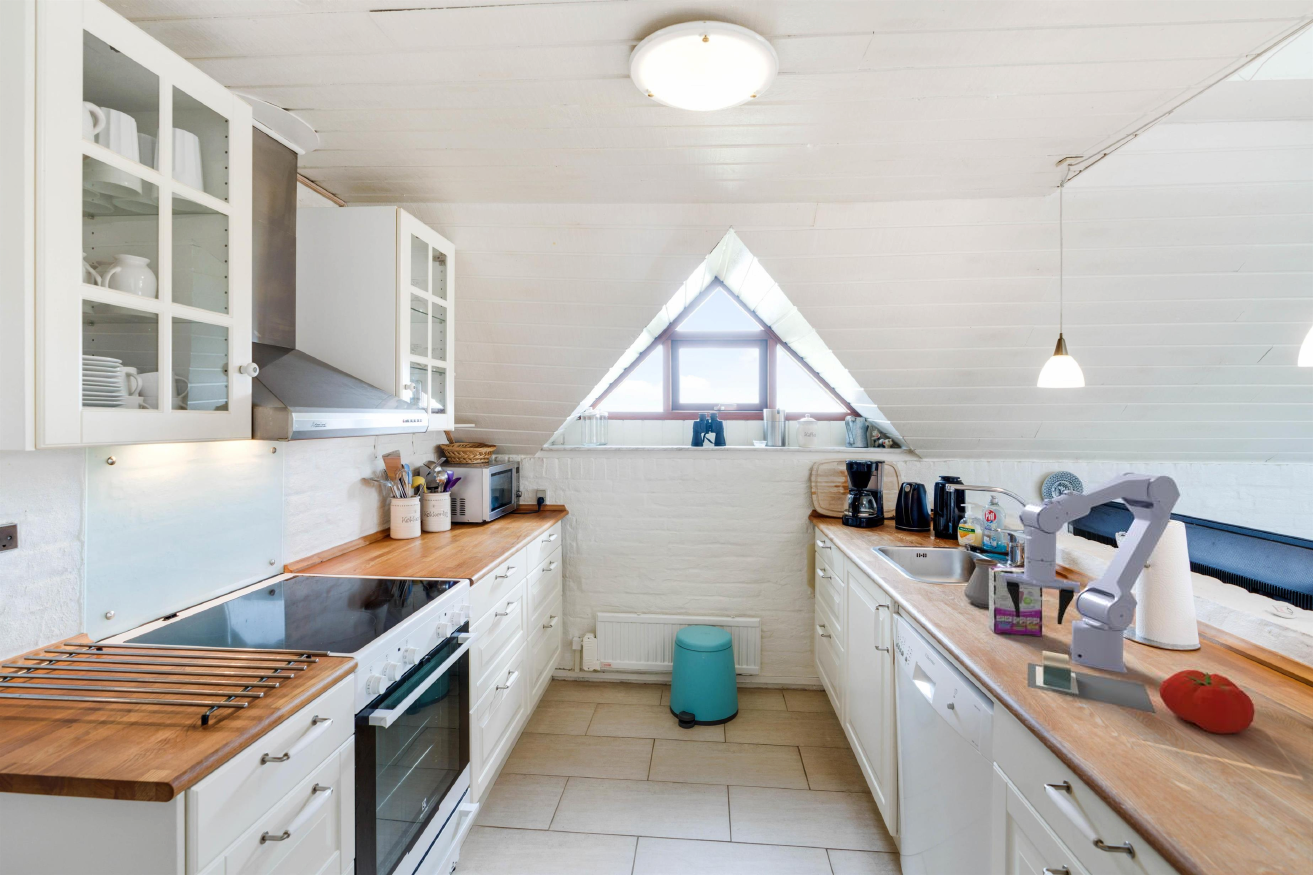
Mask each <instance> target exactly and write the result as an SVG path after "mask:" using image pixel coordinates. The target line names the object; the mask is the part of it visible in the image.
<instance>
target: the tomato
mask: <svg viewBox="0 0 1313 875" xmlns="http://www.w3.org/2000/svg"><path fill="white" fill-rule="evenodd" d="M1158 691H1159V698H1160V699H1161V701H1162V703H1163V704H1164V705H1165V706H1166V708H1167V709H1169V710H1170V712H1172V714H1175V715H1176V716H1177V717H1179V718H1180V719H1182V720H1184V721H1186V722H1187V723H1191V724H1196V725H1197V726H1199V727H1200V728H1201V729H1202V730H1204V731H1207V732H1209V733H1214V734H1220V735H1222V734H1229V733H1231V734H1232V733H1233V734H1235V733H1240V732H1242V731H1244V730H1246V729H1247V728H1249V727H1250V726H1251V724H1252V723H1253V721H1254V717H1255V712H1256V711H1255V705H1254V702H1253V701H1252V700H1251V697H1250V696H1249V695H1248V694H1247V693H1246V692H1245V691H1244V690H1242V689H1241V688H1240V687H1239V686H1237V684H1235V683H1234V682H1233V681H1231V680H1230V679H1229V678H1227V677H1226V676H1223V675H1220V674H1218V673H1211V674H1209V673H1208V671H1207V672H1203V671H1200V670H1195V669H1185V670H1181V671H1179V672H1176V673H1174V674H1172V675H1171V676H1169V677H1168V678H1166V679H1165V680H1163V681H1162V683H1161V685H1160V688H1159V690H1158Z"/></svg>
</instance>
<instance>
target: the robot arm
mask: <svg viewBox="0 0 1313 875" xmlns="http://www.w3.org/2000/svg"><path fill="white" fill-rule="evenodd" d="M1179 490H1180V489H1179V488H1178V486H1177V483H1176V482H1175V480H1174V479H1173V478H1172V477H1170V476H1167V475H1153V474H1152V475H1151V474H1143V473H1134V472H1131V471H1130V472H1129V471H1128V472H1124V473H1122V474H1117V475H1114V476H1113V478H1112V479H1110V480H1108V481H1105V482H1103V483H1101V484H1098V485H1097V486H1095V487H1092V488H1090V489H1089V490H1086V491H1084V492H1082V493H1081V492H1079V491H1076V490H1070V489H1069V490H1068V489H1067V490H1064V491H1062V494H1061V495H1059V496H1055V497H1054V498H1046V499H1043V501H1042V502H1041V503H1035V502H1031V503H1029V504H1027V505H1026V506H1025V507H1024V508H1022V511H1021V512H1020V514H1019V515H1018V519H1019V522H1020V524H1021V525H1022V526H1023V533H1024V535H1025V536H1024V537H1025V538H1024V540H1025V542H1024V563H1025V567H1023V568H1024V574H1009V573H1001V583H1007V586H1006V587H1007V590H1008V592H1009V594H1010V596H1011V598H1012V601H1013V604H1014V607H1015V612H1016V617H1017V618H1020V605H1019V590H1020V585H1026V586H1033V587H1041V588H1042V589H1051V590H1056V591H1058V609H1057V610H1058V611H1057V621H1056V622H1057V625H1062V624H1063V619H1064V616H1065V613H1066V611H1067V609H1068V607H1069V606H1070V604H1071V603H1072V601H1073V599H1074V597H1075V594H1077V595H1076V597H1075V600H1074V607H1075V610H1076V611H1077V613H1078V614H1079V615H1080V620H1072V621H1071V644H1070V646H1069V652H1070V654H1071V659H1072V663H1073V664H1074V665H1079V666H1085V667H1091V668H1096V669H1101V670H1105V671H1111V672H1117V673H1123V674H1127V673H1128V670H1127V667H1126V664H1125V662H1124V635H1125V634H1124V631H1127V628H1129V627H1130V626H1131V624H1132V623H1133V620H1134V616H1135V609H1136V608H1137V605H1138V602H1137V599H1136V598H1135V597H1134V595H1133V593H1132V591H1131V590H1132V589H1133V587H1134V585H1135V584H1136V582H1137V580H1138V578H1139V577H1140V575H1141V573H1142V571H1143V569H1144V568H1145V565H1146V564H1147V562H1148V561H1149V559H1150V557H1151V555H1152V553H1153V552H1154V551H1155V550H1154V549H1155V548H1156V546H1157V545H1158V543H1159V541H1160V539H1161V537H1162V536H1163V533H1164V532H1165V530H1166V528H1167V527H1168V525H1169V524H1170V523H1169V522H1170V519H1171V513H1172V511H1173V510H1174V507H1175V506H1176V504H1177V502H1178V500H1179V498H1180V496H1181V493H1180V491H1179ZM1119 499H1121V501H1122V502H1123V503H1124V505H1125V506H1126V507H1127V508H1128V510H1129V511H1130V512H1131V513H1132V514H1133V517H1134V520H1133V522H1132V523H1131V525H1130V527H1129V529H1128V530H1127V532H1126V534H1125V536H1124V538H1123V539H1122V541H1121V542H1120V544H1119V547H1118V548H1117V549H1116V552H1115V554H1114V555H1113V557H1112V559H1111V561H1110V563H1109V564H1108V566H1107V567H1106V570H1105V571H1104V573H1103V575H1102V576H1101V578H1098V579H1094V580H1093V581H1090V582H1088V583H1087V585H1086V587H1085V588H1083V589H1082V590H1081V583H1080V582H1077V581H1071V580H1066V579H1061V578H1060V579H1059V578H1056V565H1057V564H1056V562H1057V560H1056V559H1057V558H1056V557H1057V533H1058V532H1060V530H1062V528H1063V526H1064V525H1065V524H1066V523H1070V522H1071V521H1074V520H1077V519H1079V518H1082V517H1086V516H1087V515H1089V513H1090V512H1091V508H1093V507H1096V506H1099V505H1102V504H1106V503H1109V502H1112V501H1116V500H1119ZM1158 501H1160V502H1158Z"/></svg>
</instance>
